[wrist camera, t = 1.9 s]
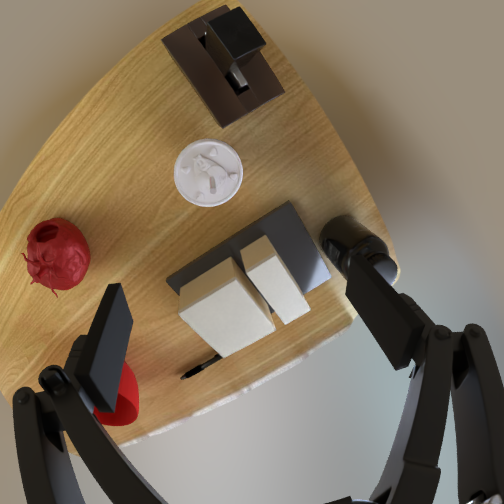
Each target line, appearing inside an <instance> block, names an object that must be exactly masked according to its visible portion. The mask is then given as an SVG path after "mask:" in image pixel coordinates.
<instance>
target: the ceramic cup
mask: <svg viewBox="0 0 504 504" xmlns="http://www.w3.org/2000/svg"><path fill="white" fill-rule="evenodd" d="M93 413H94V414H95V415H96V417H97V418H98V420H99V421H100V423H101V424H103V425H109V426H124V425H128V424H131V423H132V422H134V421H135V420H136V419H137V417H138V413H139V392H138V385H137V381H136V378H135V376H134V374H133V372H132V370H131V369H130V367H129V366H128V365H127V364H126V362H125V361H124V364H123V369H122V374H121V379H120V384H119V389H118V395H117V400H116V406H115V412H114V413H104V412H99V411H98V409H97V408H96V407H95V406H94V411H93Z"/></svg>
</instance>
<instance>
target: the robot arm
mask: <svg viewBox="0 0 504 504" xmlns="http://www.w3.org/2000/svg"><path fill="white" fill-rule="evenodd" d="M345 295H346V296H347V298H348V299H349V301H350V302H351V304H352V305H353V307H354V308H355V310H356V311H357V312H358V314H359V315H360V317H361V318H362V320H363V321H364V323H365V324H366V326H367V327H368V329H369V330H370V332H371V333H372V335H373V336H374V338H375V339H376V341H377V342H378V344H379V345H380V347H381V349H382V350H383V352H384V353H385V355H386V356H387V358H388V359H389V361H390V363H391V364H392V366H393V367H394V369H395V370H399V369H402V368H405V367H408V366H409V363H410V361H411V359H413V360H414V361H415V366H414V368H413V370H412V372H411V374H410V376H409V378H411V381H410V386H409V390H408V394H407V398H406V402H405V406H404V410H403V413H402V417H401V421H400V424H399V428H398V431H397V434H396V437H395V440H394V443H393V446H392V449H391V452H390V455H389V457H388V460H387V463H386V466H385V468H384V471H383V474H382V476H381V479H380V481H379V483H378V485H377V487H376V488H375V490H374V491H373V493H372V495H371V497H370V498H369V501H368V500H352V499H351V497H350V496H348V497H345V498H342V499H339V500H336V501H332V502H329V503H325V504H432V503H433V500H434V497H435V493H436V490H437V487H438V483H439V479H440V474H441V469H440V468H438V465H437V464H438V459H439V455H440V451H441V446H442V441H443V436H444V430H445V425H446V419H447V411H448V405H449V396H450V390H451V396H452V404H453V411H454V420H455V431H456V443H457V463H458V499H459V504H504V387H503V384H502V380H501V376H500V373H499V370H498V367H497V364H496V361H495V358H494V355H493V352H492V349H491V346H490V343H489V341H488V338H487V335H486V333H485V331H484V329H483V328H482V327H481V326H479V325H477V324H468V325H466V327H465V329H464V331H463V332H452V331H451V330H450V329H449V328H447V327H445V326H443V325H435V324H434V323H433V321H432V320H431V319H430V318H429V317H428V316H427V315H426V313H425V312H424V311H423V310H422V309H421V308H420V307H419V306H418V305H417V304H416V302H415V301H414V300H413V299H412V298H411V297H409V296H408V295H406V294H404V293H401V294H398V293H397V292H396V291H395V290H394V288H393V287H392V286H391V285H390V284H389V283H388V282H387V281H386V280H385V279H384V278H383V276H382V275H381V274H380V273H379V272H378V271H377V270H376V269H375V268H374V267H373V266H372V265H371V264H370V263H369V262H368V261H367V259H366V258H365V257H364V256H363V255H355V256H350V264H349V272H348V279H347V286H346V293H345ZM132 325H133V319H132V316H131V313H130V310H129V307H128V304H127V301H126V298H125V295H124V292H123V289H122V286H121V283H115V284H108V286H107V289H106V291H105V293H104V295H103V298H102V300H101V302H100V305H99V307H98V310H97V312H96V314H95V317H94V319H93V322H92V324H91V327H90V329H89V332H88V335H80V336H79V337H78V338H77V339H76V340H75V341H74V343H73V345H72V348H71V351H70V353H69V357H68V358H67V361H66V363H65V366H64V369H62V368H61V367H60V366H58V365H51V366H48V367H46V368H45V369H43V370H42V372H41V373H40V375H39V378H38V380H39V384H40V385H41V387H42V388H43V389H44V391H42V392H38V393H35V392H34V391H33V390H32V389H31V388H30V387H22V388H20V389H18V390H17V391H16V392H15V394H14V396H13V418H14V431H15V439H16V448H17V455H18V462H19V468H20V473H21V478H22V483H23V488H24V492H25V496H26V500H27V504H85V501H84V499H83V496H82V494H81V491H80V488H79V485H78V482H77V479H76V476H75V473H74V471H73V467H72V464H71V461H70V458H69V454H68V450H67V446H66V442H65V438H64V434H63V431H65V430H66V432H67V434H68V436H69V438H70V440H71V441H72V443H73V445H74V446H75V448H76V450H77V452H78V453H79V455H80V456H81V458H82V460H83V461H84V463H85V464H86V466H87V467H88V469H89V471H90V472H91V473H92V475H93V477H94V478H95V479H96V481H97V482H98V483H99V485H100V486H101V488H102V489H103V491H104V492H105V493H106V495H107V496H108V497H109V499H110V500H111V501H112V503H113V504H168V503H167V502H166V501H165V500H164V499H163V498H162V497H161V496H160V495H159V494H158V493H157V492H156V490H155V489H154V488H153V487H152V486H151V485H150V484H149V483H148V482H147V481H146V480H145V479H144V477H143V476H142V475H141V474H140V473H139V472H138V471H137V469H136V468H135V467H134V466H133V465H132V464H131V462H130V461H129V460H128V459H127V458H126V456H125V455H124V454H123V453H122V451H121V450H120V449H119V447H118V446H117V445H116V443H115V442H114V441H113V439H112V438H111V437H110V435H109V434H108V433H107V431H106V430H105V428H104V427H103V426H102V424H101V423H100V421H99V420H98V418H97V417H96V415H95V414H94V413H93V411H94V406H95V407H96V408H97V409H98V411H99V412H104V413H114V412H115V406H116V400H117V395H118V389H119V384H120V379H121V374H122V369H123V364H124V359H125V355H126V350H127V346H128V342H129V337H130V333H131V329H132Z"/></svg>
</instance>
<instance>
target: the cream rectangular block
mask: <svg viewBox="0 0 504 504" xmlns="http://www.w3.org/2000/svg"><path fill="white" fill-rule="evenodd" d="M240 252H241V256H242V260H243V263H244V267H245V271H246V274H247V275H248V277H249V278H250V279H251V280H252V282H253V283H254V284H255V286H256V287H257V288H258V290H259V291H260V292H261V294H262V295H263V296H264V298H265V299H266V300H267V302H268V303H269V304H270V306H271V307H272V308H273V309H274V311H275V312H276V313H277V315H278V316H279V317H280V319H281V320H282V321H283V323H284V324H285V325H286V324H288V323H289V322H291V321H293V320H295V319H296V318H298V317H300V316H301V315H303V314H305V313H306V312H308V311H310V310H311V309H310V307H309V305H308V303H307V301H306V299H305V297H304V295H303V293H302V291H301V290H300V288H299V286H298V284H297V283H296V281H295V279H294V278H293V276H292V275H291V273H290V272H289V270H288V269H287V267H286V265H285V264H284V262H283V261H282V259H281V258H280V256H279V255H278V253H277V251H276V250H275V248H274V247H273V245H272V244H271V242H270V241H269V239H268V238H267V236H266V235H264V236H263V237H261V238H259V239H258V240H256V241H255V242H253V243H251V244H250V245H248V246H247V247H245V248H243V249H242V250H240Z"/></svg>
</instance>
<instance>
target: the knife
mask: <svg viewBox="0 0 504 504" xmlns="http://www.w3.org/2000/svg"><path fill="white" fill-rule="evenodd" d="M265 45H266V42H265V41H264V39H263V38H262V36H261V35H260V33H259V32H258V31H257V29H256V28H255V26H254V25H253V24H252V22H251V21H250V19H249V18H248V17H247V15H246V14H245V13H244V11H243V10H242V9H241V7H237V8H235V9H232V10H230V11H228V12H226V13H224V14H222V15H220V16H218V17H216V18H214V19H212V20H210V21H208V22H207V30H206V32H205V37H204V48H205V50H206V51H207V53H208V54H209V56H210V57H211V59H212V60H213V61H214V63H215V64H216V66H217V67H218V69H219V70H220V72H221V73H222V74H223V76H224V77H225V79H226V80H227V82H228V83H229V85H230V86H231V88H232V89H233V91H234V92H236V91H238V90H239V89H240V88H242V87H243V86H245V85H246V84H248V82H247V81H246V79H245V78H244V76H243V75H242V73H241V72H240V70H239V69H240V68H242V67H243V66H245V65H247V64H248V63H249V62H250V60H251V59H252V58H253V57H254V56H255V55H256V54H257V53H258V52H259V51H260V50H261V49H262V48H263V47H264V46H265Z"/></svg>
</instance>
